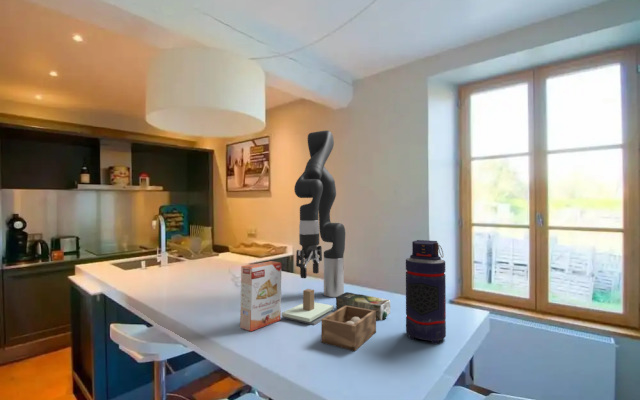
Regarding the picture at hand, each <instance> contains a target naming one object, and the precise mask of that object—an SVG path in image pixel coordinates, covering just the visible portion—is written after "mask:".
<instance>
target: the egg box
mask: <svg viewBox="0 0 640 400" xmlns="http://www.w3.org/2000/svg"><path fill="white" fill-rule="evenodd" d="M332 312H333V313H331V314H330V315H328V316H326V317H324V318H323V319H322V321H321V337H320V338H321V339H320V340H321V341H320V342H321V343H322V344H325V345H329V346H333V347H337V348H341V349H345V350H349V351H352V352H356V351H357V350H358V349H359V348H361V347H362V345H364V344H365V343H366V342H367V341H368V340H370V339H371V338H372V337H373V336H374V335H375V334H376V333H377V319H376V311H375V310H369V309H364V308H358V307H352V306H347V305H345V306H344V307H342V308H340V309H338V310H335V311H332Z"/></svg>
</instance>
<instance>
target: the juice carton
mask: <svg viewBox="0 0 640 400" xmlns="http://www.w3.org/2000/svg"><path fill="white" fill-rule="evenodd" d="M345 305H347V306H352V307H358V308H364V309H369V310H375V311H376V320H378V321H382V320H385V319H386V318H388V314H389V315H390V314H391V300H390V299H386V298H382V297H376V296H370V295H365V294H360V293H359V294H358V293H354V292H347V291H346V292H344V293H343V294H342V295H339V296H337V297H335V306H336V308H335V311H337V310H338V309H340V308H342V307H344V306H345Z"/></svg>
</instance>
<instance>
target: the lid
mask: <svg viewBox="0 0 640 400" xmlns="http://www.w3.org/2000/svg"><path fill="white" fill-rule="evenodd" d="M302 292H303V293H302V294H303V295H302V303H300V304H298V305H296V306H293V307H291V308H289V309H286V310H285V311H282V312H281V317H282V316H284V317H289V318H293V319H298V320H302V321H307V322H311V321H313V320H315V319H316V318H318V317H320V316H322V315H324V314H325V313H327V312H329V311H331V312H332V310H334V308H335V307H334V305H331V304H326V303H322V302H316V301H315V289H311V288H306V289H304V290H302Z"/></svg>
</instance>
